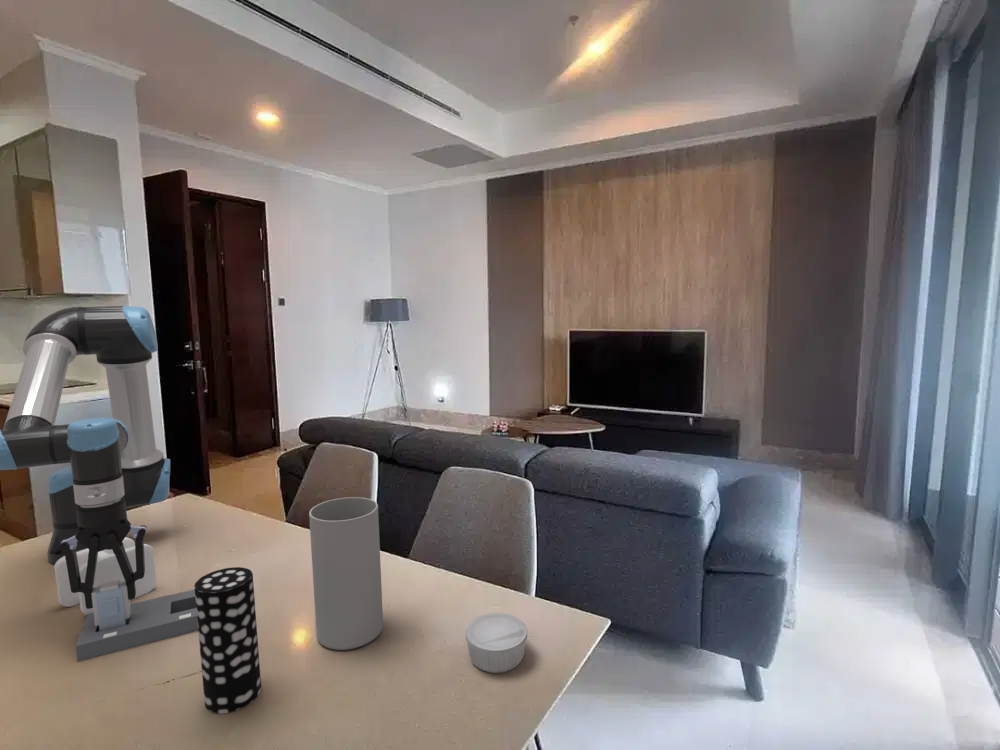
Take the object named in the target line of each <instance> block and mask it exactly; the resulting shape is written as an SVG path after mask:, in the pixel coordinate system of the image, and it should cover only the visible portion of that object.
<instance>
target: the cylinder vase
mask: <svg viewBox="0 0 1000 750" xmlns="http://www.w3.org/2000/svg"><path fill="white" fill-rule="evenodd" d="M308 514H309V515H308V517H309V533H310V547H311V548H310V549H311V551H310V552H311V563H312V564H311V566H312V582H313V583H312V584H313V585H312V586H313V596H314V614H315V615H314V616H315V630H316V638H317V641H318V642H319V643H320V644H321V645H322V646H323V647H326V648H327V649H329V650H335V651H336V650H338V651H345V650H348V651H349V650H352V649H357V648H360V647H363V646H365V645H368V644H369V643H371V642H372V641H374V640H375V639H376V638H377V637H378V636H379V635H380V634H381V632H382V630H383V627H384V614H383V612H384V611H383V610H384V608H383V593H382V592H383V590H382V586H383V585H382V571H381V569H382V568H381V545H380V544H381V543H380V525H379V520H380V519H379V504H378V502H376V501H375V500H374V499H370V498H368V497H359V496H358V497H357V496H352V497H341V498H334V499H328V500H326V501H323V502H320V503H318V504H317V505H315V506H312V508H311V509H309V512H308Z"/></svg>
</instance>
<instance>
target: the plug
mask: <svg viewBox="0 0 1000 750" xmlns="http://www.w3.org/2000/svg"><path fill="white" fill-rule="evenodd" d="M123 581H124V580H122V581H120V579H118V580H113V581H108V582H104V583H102V584H101V585H99V587H98V590H97V593H96V602H97V611H98V620H99V629H100V631H103V630H107V629H111V628H115V627H119V626H123V625H128V624H129V623H128V618H127V619H125V612H124V602H123V593H122V584H123Z"/></svg>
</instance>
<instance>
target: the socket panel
mask: <svg viewBox="0 0 1000 750" xmlns="http://www.w3.org/2000/svg"><path fill="white" fill-rule="evenodd" d="M130 604H131V615H130V618H128V623H129V624H128V625H123V626H119V627H115V628H111V629H107V630H103V631H100V629H99V625H98V626H95V621H94V612H93V613H89V614H87V615H86V616H85V619H84V622H83V625H82V627H81V630H80V633H79V636H78V639H77V641H76V644H75V653H76V661H77V663H78V662H82V661H86V660H89V659H94V658H98V657H101V656H105V655H106V656H107V655H109V654H112V653H116V652H117V653H118V652H121V651H126V650H129V649H131V648H136V647H140V646H144V645H148V644H151V643H155V642H159V641H163V640H167V639H171V638H175V637H179V636H182V635H186V634H190V633H193V632H198V622H197V610H196V599H195V588H194V589H190V590H186V591H182V592H177V593H173V594H168V595H164V596H160V597H156V598H152V599H151V598H150V599H147V600H142V601H138V602H134V603H130Z"/></svg>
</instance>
